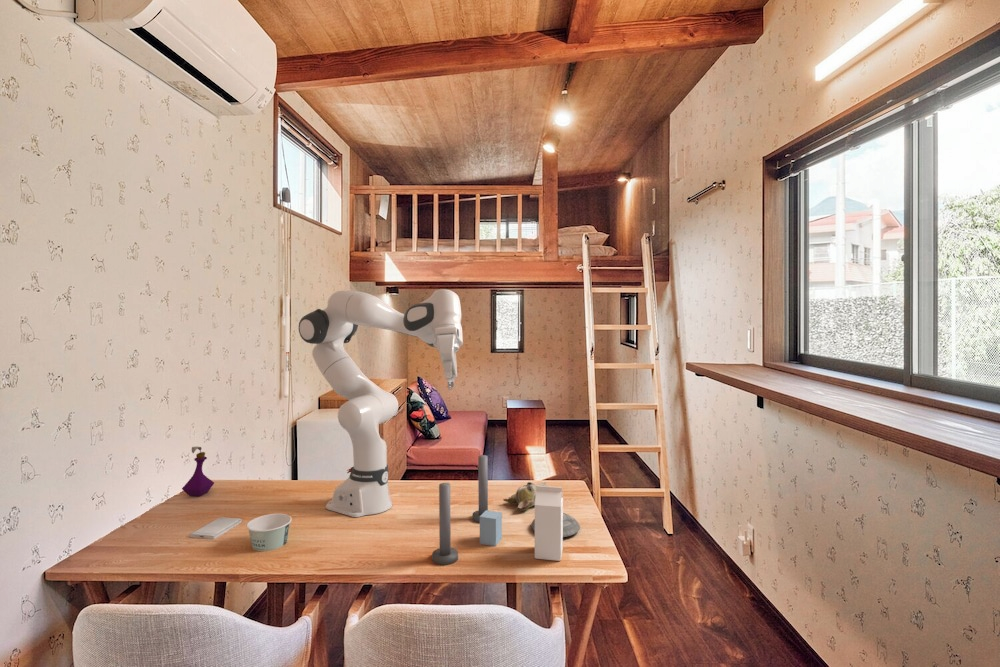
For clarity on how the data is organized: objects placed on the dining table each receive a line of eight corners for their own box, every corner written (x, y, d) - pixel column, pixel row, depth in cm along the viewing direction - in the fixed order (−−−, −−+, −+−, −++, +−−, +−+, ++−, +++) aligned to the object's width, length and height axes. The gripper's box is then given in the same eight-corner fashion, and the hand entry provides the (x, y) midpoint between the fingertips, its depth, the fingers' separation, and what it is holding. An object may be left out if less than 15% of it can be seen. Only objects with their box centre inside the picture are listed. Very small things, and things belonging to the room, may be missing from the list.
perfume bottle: (196, 490, 190) (195, 443, 189) (214, 491, 189) (213, 443, 188) (181, 497, 182) (180, 448, 182) (200, 498, 181) (199, 449, 181)
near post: (427, 562, 135) (427, 487, 134) (439, 550, 142) (438, 479, 141) (451, 567, 133) (450, 490, 132) (462, 554, 139) (461, 481, 138)
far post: (469, 521, 161) (468, 458, 160) (477, 513, 168) (477, 452, 167) (489, 524, 159) (489, 460, 158) (497, 516, 166) (496, 454, 165)
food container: (237, 552, 141) (236, 529, 141) (263, 533, 153) (262, 512, 153) (277, 555, 140) (276, 531, 139) (300, 535, 151) (299, 514, 151)
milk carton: (560, 561, 135) (560, 492, 135) (534, 559, 137) (534, 490, 136) (562, 549, 142) (563, 483, 142) (537, 547, 144) (537, 481, 143)
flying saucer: (589, 530, 155) (589, 512, 155) (559, 546, 145) (559, 527, 144) (551, 516, 166) (551, 500, 166) (521, 530, 155) (521, 513, 155)
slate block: (479, 543, 146) (479, 516, 146) (486, 536, 151) (485, 510, 150) (495, 546, 144) (495, 518, 144) (501, 538, 149) (501, 512, 149)
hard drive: (219, 516, 163) (189, 533, 150) (241, 518, 161) (213, 535, 149) (219, 521, 163) (189, 538, 151) (242, 523, 161) (213, 541, 149)
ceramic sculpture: (554, 482, 172) (516, 492, 165) (555, 507, 173) (517, 518, 166) (538, 473, 182) (501, 482, 175) (539, 497, 182) (502, 507, 175)
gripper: (440, 352, 160) (442, 394, 155) (433, 326, 141) (435, 372, 136) (460, 351, 161) (462, 392, 155) (456, 324, 142) (458, 371, 136)
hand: (449, 383), depth 145 cm, fingers open, 8 cm apart
